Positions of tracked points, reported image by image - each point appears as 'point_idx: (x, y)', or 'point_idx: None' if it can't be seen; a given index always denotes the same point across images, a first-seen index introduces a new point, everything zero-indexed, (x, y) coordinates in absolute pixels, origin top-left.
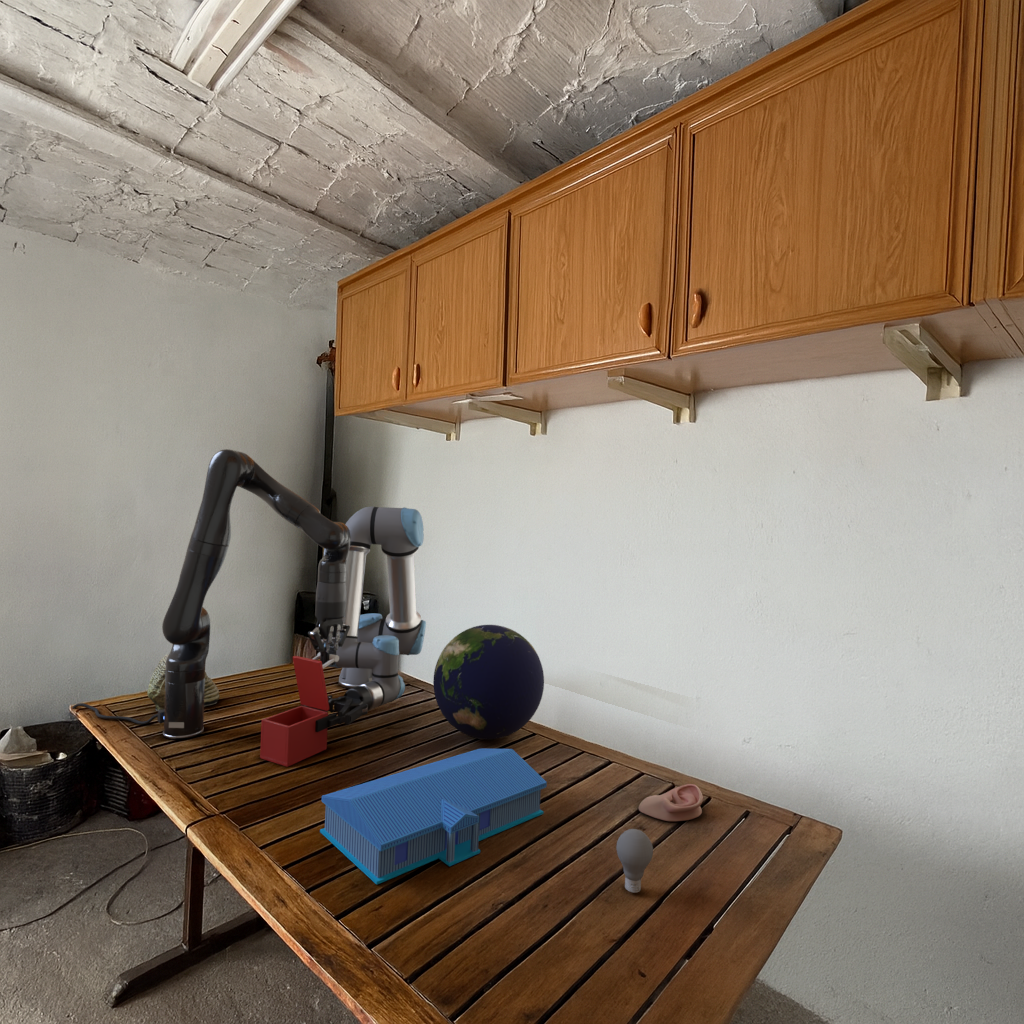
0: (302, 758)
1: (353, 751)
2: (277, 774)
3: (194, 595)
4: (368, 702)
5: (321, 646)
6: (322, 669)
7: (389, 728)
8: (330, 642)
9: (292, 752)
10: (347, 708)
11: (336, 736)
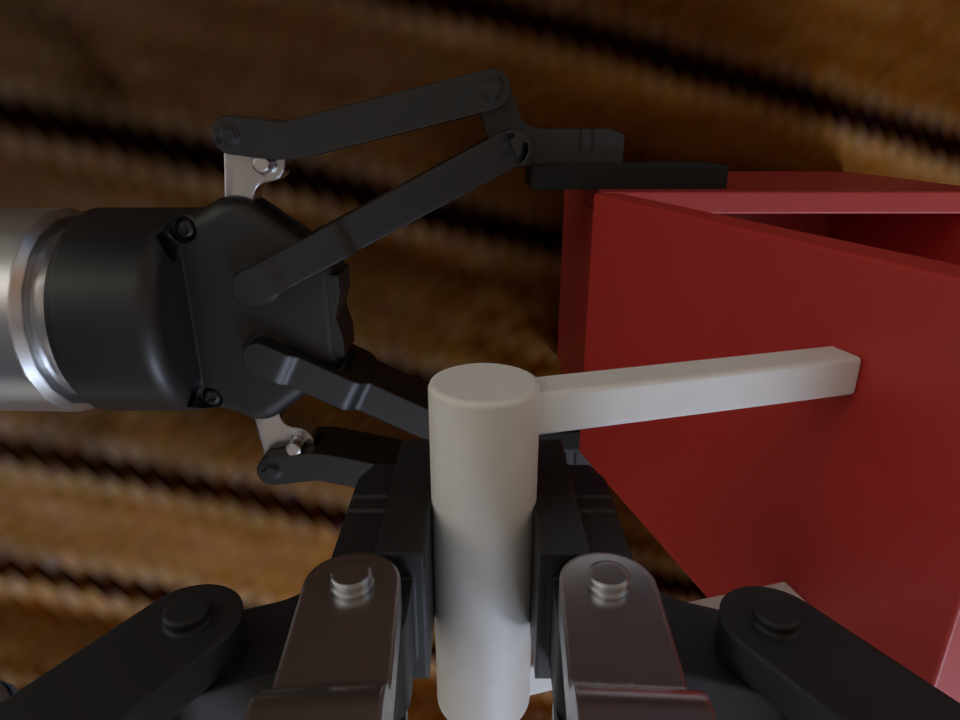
0: (746, 171)
1: (513, 12)
2: (934, 145)
3: None
4: (129, 208)
5: (858, 678)
6: (917, 262)
7: (110, 76)
8: (620, 693)
9: (848, 176)
10: (377, 199)
11: (402, 254)
